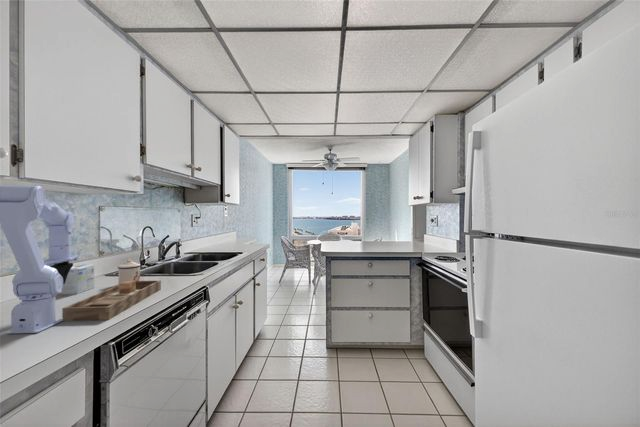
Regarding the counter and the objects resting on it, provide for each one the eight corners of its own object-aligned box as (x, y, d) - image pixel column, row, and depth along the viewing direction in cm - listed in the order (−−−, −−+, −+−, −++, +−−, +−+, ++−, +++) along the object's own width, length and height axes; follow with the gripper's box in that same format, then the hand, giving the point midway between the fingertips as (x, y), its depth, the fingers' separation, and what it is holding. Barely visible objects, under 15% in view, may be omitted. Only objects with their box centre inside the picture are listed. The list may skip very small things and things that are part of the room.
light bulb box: (79, 287, 131) (79, 264, 131) (95, 287, 132) (95, 264, 132) (60, 294, 120) (60, 269, 120) (77, 294, 121) (77, 268, 121)
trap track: (108, 319, 93) (108, 307, 93) (62, 320, 92) (62, 308, 92) (160, 289, 129) (160, 280, 129) (127, 290, 128) (127, 281, 128)
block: (130, 293, 114) (130, 283, 114) (119, 293, 114) (119, 283, 114) (135, 290, 118) (135, 280, 118) (125, 290, 118) (125, 281, 118)
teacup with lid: (137, 285, 135) (137, 260, 135) (115, 287, 132) (115, 262, 132) (144, 279, 146) (144, 257, 146) (123, 281, 143) (123, 257, 143)
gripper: (54, 248, 93) (55, 290, 93) (87, 243, 108) (87, 279, 108) (31, 248, 93) (31, 290, 93) (67, 243, 107) (67, 279, 107)
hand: (60, 284), depth 100 cm, fingers closed
